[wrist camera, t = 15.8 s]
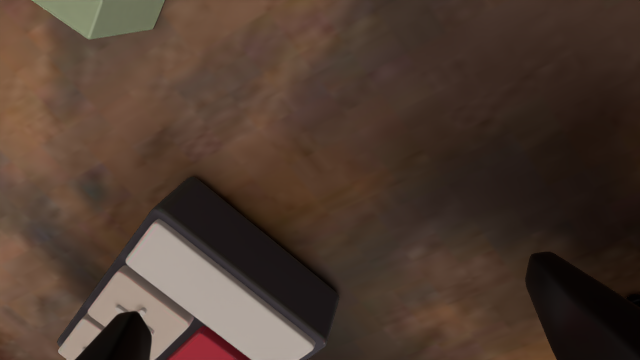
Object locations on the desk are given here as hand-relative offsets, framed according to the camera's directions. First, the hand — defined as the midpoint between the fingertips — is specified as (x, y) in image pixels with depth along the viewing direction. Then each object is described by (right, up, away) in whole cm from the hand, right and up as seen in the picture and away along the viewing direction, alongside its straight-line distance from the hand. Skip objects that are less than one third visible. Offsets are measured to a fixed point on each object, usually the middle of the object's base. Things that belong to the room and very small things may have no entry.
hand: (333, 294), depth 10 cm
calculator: (-8, -5, +17) cm, 20 cm away
